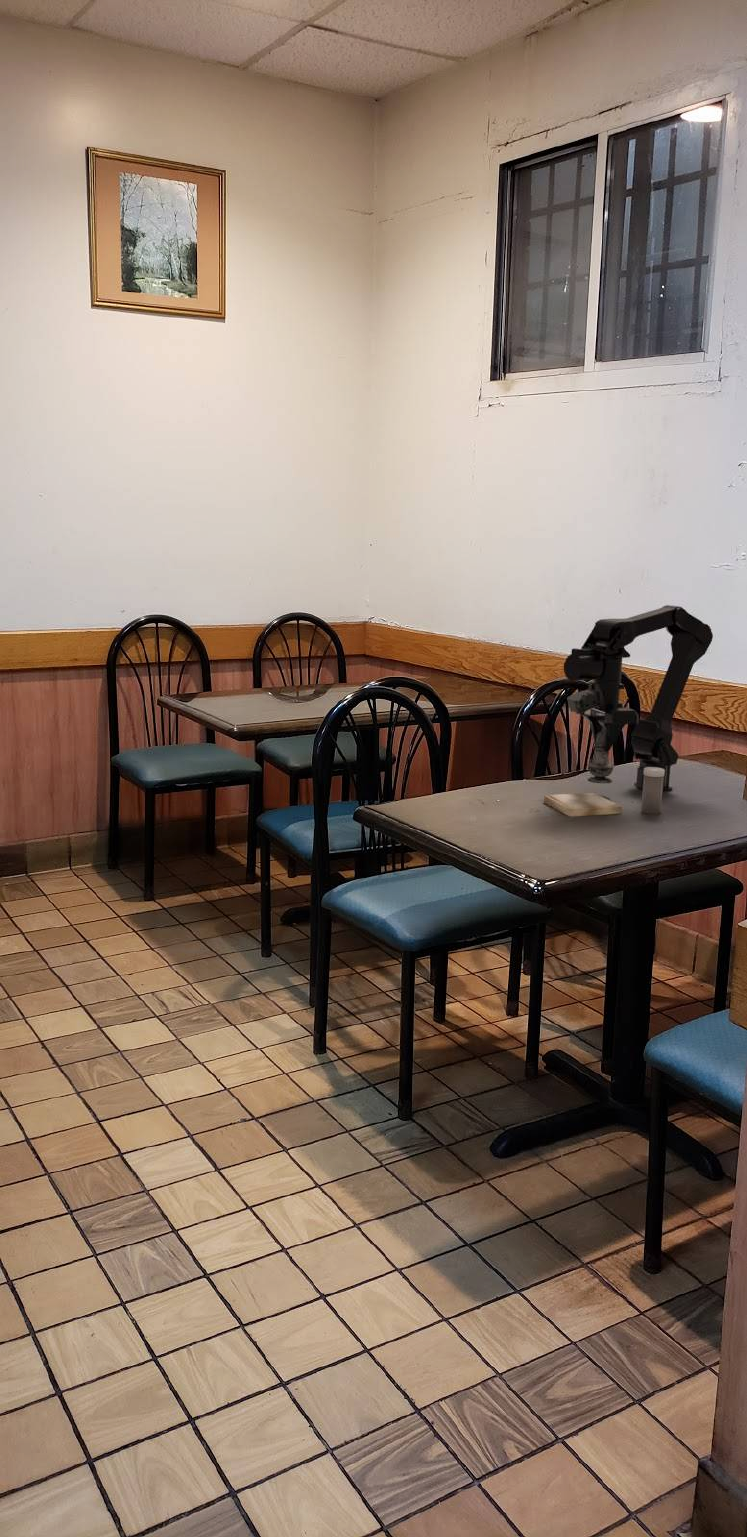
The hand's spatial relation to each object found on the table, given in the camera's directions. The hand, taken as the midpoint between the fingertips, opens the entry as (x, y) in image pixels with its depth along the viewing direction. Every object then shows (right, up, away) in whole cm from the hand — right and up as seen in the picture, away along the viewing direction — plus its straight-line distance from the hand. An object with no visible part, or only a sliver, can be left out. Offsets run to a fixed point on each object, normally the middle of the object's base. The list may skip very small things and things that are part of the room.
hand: (602, 749), depth 260 cm
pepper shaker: (+8, -13, -10) cm, 19 cm away
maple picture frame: (-6, -13, -9) cm, 16 cm away
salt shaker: (0, -7, +2) cm, 7 cm away
